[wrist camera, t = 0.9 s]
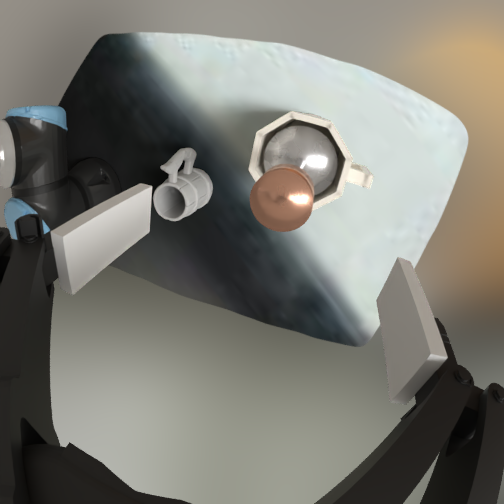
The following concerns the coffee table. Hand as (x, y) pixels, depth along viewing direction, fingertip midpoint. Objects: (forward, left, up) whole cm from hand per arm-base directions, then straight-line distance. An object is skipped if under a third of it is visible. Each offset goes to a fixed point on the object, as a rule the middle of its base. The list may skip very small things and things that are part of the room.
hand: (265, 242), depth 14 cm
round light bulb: (0, 0, -24) cm, 24 cm away
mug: (-18, -9, -36) cm, 41 cm away
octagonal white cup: (+1, 0, -36) cm, 36 cm away
